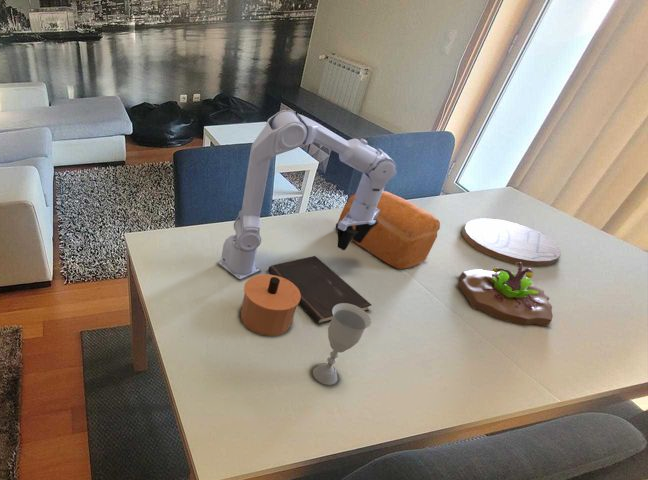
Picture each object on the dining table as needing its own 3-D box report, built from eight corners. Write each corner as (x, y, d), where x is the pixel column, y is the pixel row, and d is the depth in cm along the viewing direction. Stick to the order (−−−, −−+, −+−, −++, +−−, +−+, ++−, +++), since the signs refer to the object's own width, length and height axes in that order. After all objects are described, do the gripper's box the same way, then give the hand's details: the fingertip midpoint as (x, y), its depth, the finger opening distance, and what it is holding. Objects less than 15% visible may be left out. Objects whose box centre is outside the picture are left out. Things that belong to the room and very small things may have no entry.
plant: (468, 314, 102) (491, 280, 95) (451, 270, 117) (471, 238, 110) (562, 333, 97) (595, 299, 90) (533, 285, 111) (559, 252, 104)
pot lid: (232, 289, 98) (234, 274, 95) (270, 271, 104) (274, 257, 101) (272, 321, 89) (276, 306, 86) (311, 300, 95) (316, 285, 92)
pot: (230, 312, 103) (235, 287, 98) (265, 296, 108) (271, 271, 103) (265, 343, 95) (272, 317, 89) (301, 323, 100) (309, 298, 95)
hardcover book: (313, 261, 120) (315, 255, 119) (368, 311, 103) (371, 304, 102) (267, 272, 116) (268, 265, 115) (317, 325, 99) (319, 318, 98)
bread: (396, 272, 116) (419, 225, 106) (331, 229, 135) (345, 186, 125) (429, 261, 120) (454, 215, 110) (361, 221, 139) (377, 178, 129)
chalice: (303, 363, 90) (325, 304, 79) (332, 361, 91) (358, 302, 79) (317, 390, 84) (343, 330, 73) (347, 387, 85) (378, 328, 74)
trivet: (551, 236, 131) (555, 231, 130) (562, 276, 115) (567, 271, 114) (462, 216, 142) (465, 211, 140) (461, 250, 125) (464, 245, 124)
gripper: (362, 214, 96) (345, 260, 105) (397, 199, 103) (378, 243, 111) (337, 202, 101) (322, 247, 110) (372, 189, 107) (355, 232, 116)
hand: (349, 244), depth 111 cm, fingers open, 6 cm apart
